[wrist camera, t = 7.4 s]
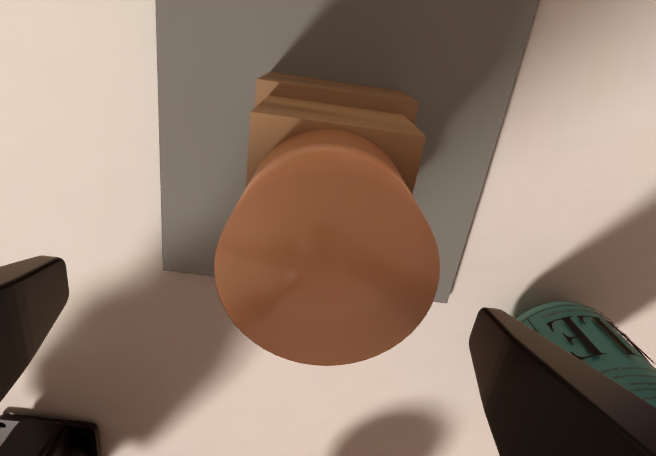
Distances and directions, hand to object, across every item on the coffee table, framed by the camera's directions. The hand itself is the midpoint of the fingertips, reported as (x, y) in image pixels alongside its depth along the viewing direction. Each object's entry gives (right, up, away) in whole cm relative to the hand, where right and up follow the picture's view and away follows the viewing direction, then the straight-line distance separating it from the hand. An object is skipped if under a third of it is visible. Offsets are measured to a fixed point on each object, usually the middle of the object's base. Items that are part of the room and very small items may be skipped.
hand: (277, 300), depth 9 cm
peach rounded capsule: (+1, +2, +4) cm, 4 cm away
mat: (+1, +6, +11) cm, 13 cm away
